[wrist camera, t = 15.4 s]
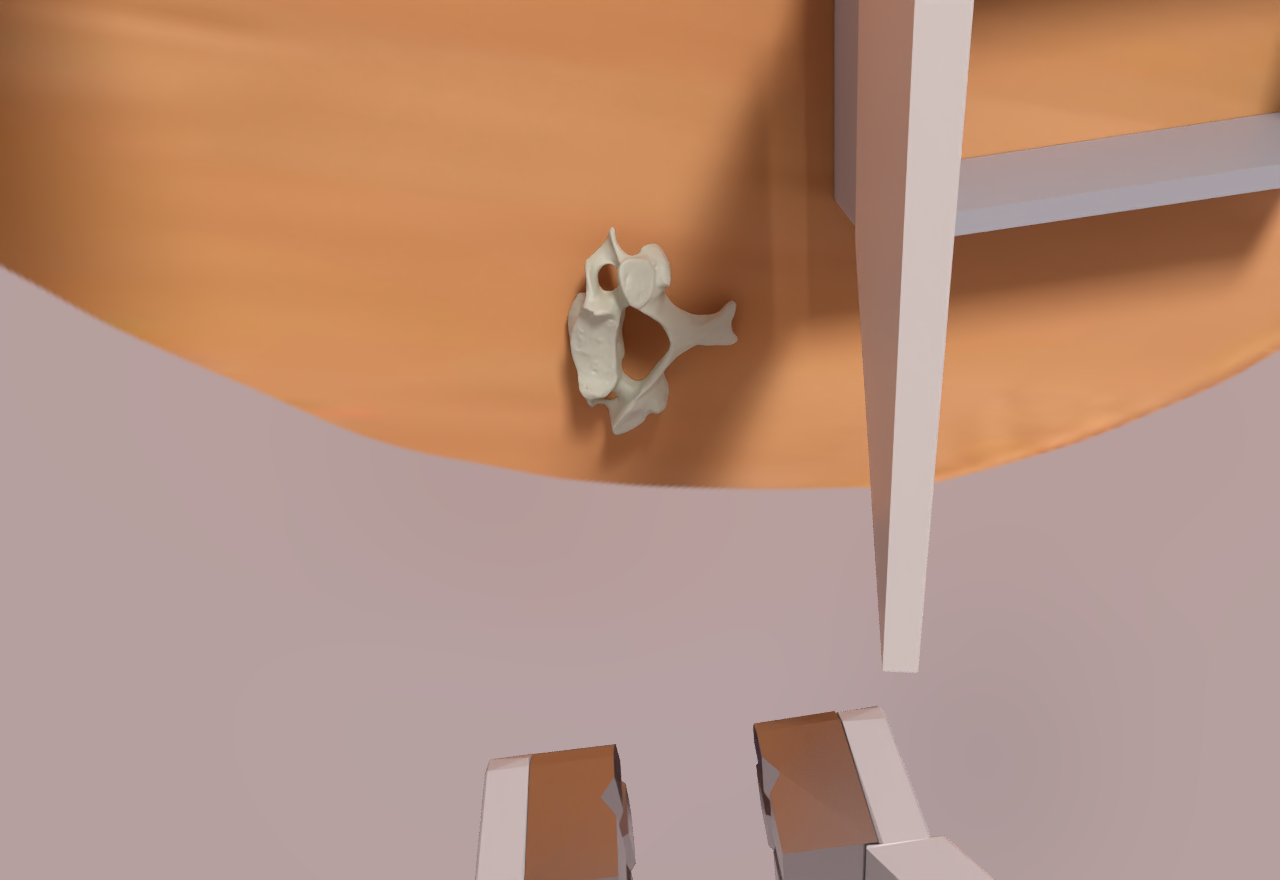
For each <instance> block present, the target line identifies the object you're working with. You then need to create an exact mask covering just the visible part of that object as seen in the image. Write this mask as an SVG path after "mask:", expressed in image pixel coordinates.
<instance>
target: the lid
mask: <svg viewBox="0 0 1280 880" xmlns="http://www.w3.org/2000/svg"><path fill="white" fill-rule="evenodd" d="M973 7H974V0H859V15H858V82H857V149H856V216H855V247H856V263H857V279H858V294H859V310H860V326H861V342H862V357H863V373H864V389H865V404H866V420H867V436H868V452H869V467H870V483H871V498H872V514H873V528H874V529H873V530H874V546H875V562H876V575H877V576H876V577H877V593H878V608H879V624H880V640H881V655H882V670H883V671H895V672H912V673H918V665H919V652H920V642H921V630H922V618H923V605H924V593H925V582H926V569H927V558H928V546H929V534H930V522H931V510H932V498H933V486H934V474H935V462H936V450H937V438H938V426H939V414H940V402H941V390H942V378H943V366H944V354H945V342H946V330H947V318H948V306H949V294H950V282H951V271H952V259H953V247H954V235H955V223H956V211H957V199H958V187H959V175H960V163H961V151H962V139H963V127H964V115H965V103H966V91H967V79H968V67H969V55H970V43H971V31H972V19H973Z"/></svg>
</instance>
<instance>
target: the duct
mask: <svg viewBox="0 0 1280 880" xmlns="http://www.w3.org/2000/svg"><path fill="white" fill-rule="evenodd" d="M858 15H859V0H834V200H835V201H836V203H837V204H838V205H839V207H840V208H841V209H842V211H843V212H844V213H845V215H846V216H847V217H848V218H849V220H850V221H851V222H852V224H853V225H854V226H855V216H856V149H857V82H858ZM1277 188H1280V112H1276V113H1269V114H1262V115H1256V116H1249V117H1242V118H1235V119H1229V120H1222V121H1215V122H1209V123H1202V124H1195V125H1189V126H1182V127H1175V128H1168V129H1162V130H1155V131H1148V132H1142V133H1135V134H1128V135H1121V136H1115V137H1108V138H1101V139H1095V140H1088V141H1081V142H1075V143H1068V144H1061V145H1054V146H1048V147H1041V148H1034V149H1028V150H1021V151H1014V152H1008V153H1001V154H994V155H987V156H981V157H974V158H967V159H961V163H960V175H959V187H958V199H957V211H956V223H955V235H954V236H959V235H966V234H973V233H980V232H986V231H993V230H1000V229H1007V228H1013V227H1020V226H1027V225H1034V224H1040V223H1047V222H1054V221H1061V220H1068V219H1074V218H1081V217H1088V216H1095V215H1101V214H1108V213H1115V212H1122V211H1128V210H1135V209H1142V208H1149V207H1156V206H1162V205H1169V204H1176V203H1183V202H1189V201H1196V200H1203V199H1210V198H1216V197H1223V196H1230V195H1237V194H1244V193H1250V192H1257V191H1264V190H1271V189H1277Z"/></svg>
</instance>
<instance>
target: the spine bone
mask: <svg viewBox="0 0 1280 880" xmlns="http://www.w3.org/2000/svg"><path fill="white" fill-rule="evenodd" d="M605 264H612V265H614V266H615V267H616V268H617V279H618V282H619V283H618V286H617V287H616V288H615V289H614V290H612V291H604V290H602V288H601V287H600V286H599V283H598V273H599V270H600V269H601V268H602V266H604V265H605ZM585 276H586V293H579V294H578V295H577V296H576V298H575V300H574V301H573V303H572V306H571V308H570V310H569V313H568V331H569V337H570V347H571V353H572V358H573V361H574V363H575V366H576V369H577V373H578V384H579V391H580V392H581V394H582V395H583V397H584V398H586V401H587V403H588V404H589V406H590V407H594V406H595V405H596V404H604V405H606V406H607V408H608V410H609V414H610V419H611V426H612V432H613V434H615V435H620V434H623V433H626V432H628V431H630V430H632V429H633V428H635V427H637V426H639V425H640V424H641V423H642V422H643V421H644V420H645V419H646V416H647V415H649V414H652V413H655V414H659V413H660V412H662V411H663V410H664V409H665V408H666V406H667V397H668V396H669V385H668V382H667V380H666V377H665V375H664V371H665V370H666V368H667V367H668V366H669V365H670V364H671V363H672V362H673V361H674V359H676V358H677V357H678V356H679V355H681V354H682V353H684V352H685V351H687V350H689V349H690V348H692V347H694V346H696V345H703V346H712V345H732V344H734V343H736V342H737V340H738V337H737V336H736V335H735V334H734V333H733V330H732V326H731V322H732V319H733V318H734V314H735V310H736V303H735V302H734V301H729V302H728V303H727V304H725V306H724V307H723V308H722V309H721V310H720V311H718V312H717V313H714V314H709V315H696V314H691V313H688V312H686V311H684V310H681V309H680V308H678V307H677V306H675V305H674V304H673V303H672V302H671V301H670V300H669V298H668V297H667V295H666V293H665V287H669V285H670V282H671V270H670V264H669V261H668V258H667V256H666V255H665V253H664V251H663V250H662V249H661V248H660V247H659V246H658V245H657V244H647V245H645V246H644V247H643V248H642V249H641V250H640V252H639V254H636V255H633V256H631V255H628V254H626V253H625V252H624V251H623V250H622V249H621V247H620V246H619V244H618V243H617V239H616V231H615V229H614V228H613V227H611V228H610V230H609V234H608V237H607V239H606V241H605V242H604V244H603V245H602V246H601V247H600V248H598V249H597V250H596V251H595V252H594V253H593V254H592V255H591V256H590V257H589V258H588V259H587V260H586V262H585ZM628 306H632V307H633V308H635V309H638V310H639V311H641V312H642V313H644V314H646V315H648V316H649V317H651V318H652V319H654V320H655V321H657V322H659V323H660V324H661V326H662V327H663V328H664V330H665V331H666V333H667V335H668V338H669V340H670V347H669V349H668V351H667V353H666V354H665V355H664V357H663V358H661V359H660V360H659V361H658V363H657V364H656V365H655V367H654V368H653V369H652V371H651V372H650V373H649V374H648V375H647V376H646V378H645V379H642V380H638V381H637V380H633V379H631V378H630V377H628V376H627V375H626V374H625V373H624V372H623V370H622V360H623V358H624V355H625V349H624V343H623V336H622V326H623V322H624V318H625V311H626V307H628ZM611 391H613V392H614V393H616V394H617V396H616V397H615V399H611V398H608V397H606V396H607V395H608V394H609V393H610V392H611Z"/></svg>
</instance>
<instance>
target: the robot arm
mask: <svg viewBox="0 0 1280 880" xmlns="http://www.w3.org/2000/svg"><path fill="white" fill-rule="evenodd" d="M753 732H754V743H755V749H756V754H757V759H758V764H757V765H756V768H757V777H758V785H759V792H760V800H761V807H762V813H763V818H764V823H765V829H766V834H767V839H768V844H769V846H770V847H771V848H772V849H773V850H774V863H775V875H776V880H994V879H993V878H992V877H991V876H990V875H989V874H987V873H986V872H985V871H984V870H983V869H982V868H981V867H980V866H978V865H977V864H976V863H975V862H974V861H973V860H972V859H970V858H969V857H968V856H967V855H966V854H965V853H964V852H962V851H961V850H960V849H959V848H958V847H957V846H956V845H954V844H953V843H952V842H951V841H950V840H949V839H948V838H946V837H945V836H933V837H931V836H930V833H929V830H928V828H927V825H926V822H925V820H924V817H923V814H922V812H921V809H920V806H919V803H918V801H917V798H916V795H915V793H914V790H913V788H912V785H911V782H910V779H909V776H908V774H907V771H906V768H905V766H904V763H903V760H902V758H901V755H900V752H899V749H898V747H897V744H896V741H895V738H894V736H893V733H892V731H891V728H890V725H889V722H888V720H887V717H886V715H885V713H884V712H883V711H882V710H881V709H880V707H878V706H874V707H867V708H861V709H856V710H849V711H843V712H837V713H835V711H832V712H826V713H820V714H813V715H807V716H801V717H793V718H787V719H781V720H774V721H768V722H761V723H755V724H754V725H753ZM635 864H636V862H635V848H634V836H633V827H632V818H631V810H630V804H629V798H628V793H627V788H626V784H625V783H624V782H622V781H621V766H620V758H619V755H618V751H617V747H616V744H613V745H605V746H596V747H588V748H580V749H572V750H564V751H556V752H548V753H538V754H528V755H521V756H513V757H506V758H499V759H491V760H490V761H489V765H488V767H487V770H486V773H485V781H484V792H483V802H482V812H481V822H480V833H479V844H478V854H477V864H476V875H475V880H633V878H632V874H631V871H632V869H633V867H634V865H635Z"/></svg>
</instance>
